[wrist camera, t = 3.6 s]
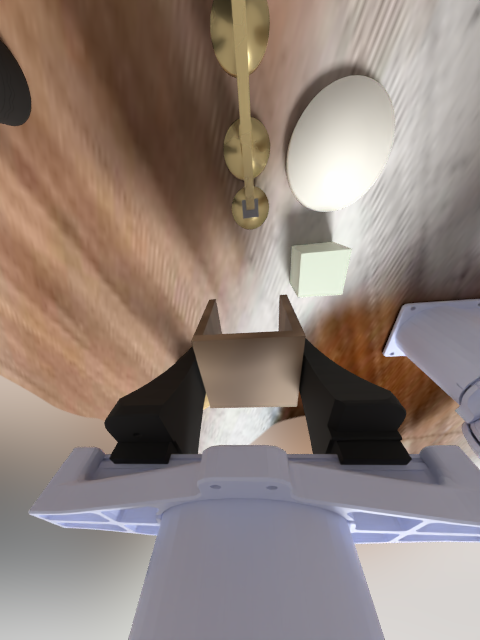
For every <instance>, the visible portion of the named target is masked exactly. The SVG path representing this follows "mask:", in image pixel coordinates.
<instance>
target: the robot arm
mask: <svg viewBox="0 0 480 640" xmlns="http://www.w3.org/2000/svg"><path fill="white" fill-rule="evenodd" d="M383 355H384V356H386V357H388V356H407V357H408V358H409V359H410V360H412V361H413V362H414V363H415V364H416V365H417V366H418V367H419V368H420V369H421V370H422V371H423V372H424V373H426V374H427V375H428V376H429V377H430V378H431V379H432V380H433V381H434V382H435V383H436V384H437V385H439V386H440V387H441V388H442V389H443V390H444V391H445V392H446V393H447V394H448V395H449V396H450V397H452V398H453V399H454V400H455V401H456V402H457V403H458V404H459V405H460V406H459V407H458V408H457V409H456V410H455V411H456V412H457V413H458V414H459V415H460V416H461V417H462V418H463V419H464V420H465V422H464V423H463V424H462V432H463V434H464V437H465V438H466V440H467V442H468V444H469V446H470V447H471V449H472V450H473V451H474V453H475V454H476V455H477V456H478V457H479V459H480V299H468V300H453V301H438V302H423V303H408V304H405V305H403V306H402V308H401V310H400V313H399V315H398V317H397V320H396V322H395V325H394V327H393V329H392V332H391V334H390V336H389V339H388V341H387V344H386V346H385V348H384V351H383ZM299 391H300V395H301V398H302V403H303V407H304V412H305V416H306V420H307V425H308V430H309V435H310V440H311V446H312V451H313V454H286V452H285V451H284V450H283V449H281V448H279V447H276V446H269V445H218V446H211V447H209V448H207V449H206V450H204V451H203V453H202V454H198V447H199V437H200V429H201V421H202V414H203V407H204V401H205V396H206V390H205V387H204V383H203V380H202V377H201V373H200V370H199V366H198V363H197V359H196V356H195V353H194V349H193V346H192V347H191V348H190V349H189V350H188V351H187V352H186V354H185V355H183V356H182V357H181V358H180V359H179V360H178V361H177V362H176V363H175V364H174V365H173V366H172V367H170V368H169V369H168V370H167V371H165V372H164V373H162V374H161V375H160V376H158V377H157V378H155V379H154V380H153V381H151V382H149V383H148V384H146V385H144V386H143V387H141V388H139V389H138V390H136V391H134V392H132V393H130V394H128V395H126V396H124V397H122V398H120V399H119V401H118V402H117V404H116V405H115V407H114V408H113V409H112V411H111V412H110V414H109V415H108V417H107V418H106V420H105V422H104V423H105V428H106V429H107V431H108V432H109V433H110V434H111V435H112V436H113V437H114V438H115V439H116V441H117V442H118V443H117V445H116V447H115V449H114V450H113V452H112V454H105V453H104V452H103V450H101V449H100V448H97V447H75V448H74V449H73V451H72V452H71V454H70V455H69V456H68V458H67V459H66V460H65V462H64V463H63V465H62V466H61V467H60V469H59V470H58V472H57V473H56V474H55V476H54V477H53V478H52V480H51V481H50V482H49V484H48V485H47V486H46V488H45V489H44V491H43V492H42V493H41V495H40V496H39V498H38V499H37V500H36V502H35V503H34V505H33V506H32V507H31V509H30V510H29V511H28V512H29V514H30V515H33V516H35V517H38V518H41V519H43V520H46V521H48V522H51V523H53V524H56V525H58V526H61V527H64V528H83V529H96V530H107V531H117V532H127V533H137V534H146V535H155V536H157V538H156V541H155V545H154V549H153V552H152V556H151V559H150V563H149V566H148V570H147V574H146V577H145V581H144V584H143V588H142V592H141V595H140V599H139V602H138V606H137V610H136V613H135V617H134V620H133V624H132V628H131V631H130V635H129V638H128V640H385V639H384V636H383V632H382V629H381V626H380V623H379V620H378V617H377V613H376V611H375V608H374V604H373V601H372V598H371V595H370V592H369V588H368V585H367V582H366V579H365V576H364V573H363V570H362V567H361V563H360V560H359V558H358V554H357V551H356V548H355V545H354V544H363V543H364V544H365V543H400V542H401V543H402V542H480V470H479V468H478V467H477V466H476V465H475V464H474V463H473V462H472V461H471V460H470V458H469V457H468V456H467V455H466V454H465V453H464V452H463V451H462V449H461V448H460V447H459V446H456V445H433V446H427V447H425V448H423V449H422V450H421V451H420V454H408V452H407V451H406V449H405V448H404V446H403V444H402V443H401V441H400V440H402V437H401V435H400V434H399V432H398V431H397V429H398V428H399V427H400V425H401V424H402V422H403V421H404V419H405V417H406V410H405V409H404V408H403V406H402V405H401V404H400V402H399V401H398V400H397V398H396V397H395V396H394V395H393V394H392V393H391V391H389V390H386V389H384V388H382V387H379V386H377V385H375V384H372V383H370V382H368V381H366V380H364V379H362V378H360V377H358V376H356V375H354V374H352V373H351V372H349V371H347V370H346V369H344V368H342V367H341V366H339V365H338V364H336V363H335V362H333V361H332V360H330V359H329V358H328V357H326V356H325V355H324V354H322V353H321V352H320V351H319V350H318V349H317V348H315V347H314V346H313V345H312V344H311V343H310V342H309V341H308V340H307V339H306V338H305V345H304V353H303V361H302V369H301V376H300V384H299Z"/></svg>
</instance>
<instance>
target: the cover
mask: <svg viewBox="0 0 480 640" xmlns="http://www.w3.org/2000/svg"><path fill="white" fill-rule="evenodd" d="M305 337H306V336H305V333H304V331H303V329H302V327H301V325H300V323H299V321H298V318H297V316H296V314H295V312H294V310H293V308H292V305H291V303H290V301H289V299H288V297H287V295H280V301H279V331H275V332H256V333H236V334H222V332H221V326H220V320H219V315H218V309H217V303H216V299H213V300H209V302H208V304H207V306H206V309H205V311H204V313H203V316H202V318H201V320H200V322H199V325H198V327H197V329H196V332H195V334H194V336H193V338H192V341H191V342H192V346H193V349H194V353H195V356H196V359H197V363H198V366H199V370H200V373H201V377H202V380H203V383H204V387H205V390H206V394H207V397H208V401H209V404H210V408H240V407H297V400H298V392H299V384H300V376H301V369H302V361H303V353H304V345H305Z"/></svg>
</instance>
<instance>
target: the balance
mask: <svg viewBox="0 0 480 640" xmlns="http://www.w3.org/2000/svg"><path fill="white" fill-rule="evenodd" d="M269 25H270V20H269V9H268V4H267V0H214V1H213V5H212V10H211V18H210V32H211V40H212V44H213V49H214V52H215V55H216V58H217V60H218V62H219V64H220V66H221V67H222V68H223V70H224V71H225V72H226V73H228V74H229V75H230V76H232V77H235V78H237V85H238V99H239V113H240V118H239V119H237V120H236V121H235V122H234V123H233V124H232V125H231V126H230V128H229V129H228V131H227V133H226V136H225V140H224V148H223V150H224V158H225V162H226V164H227V166H228V168H229V170H230V172H231V173H232V174H233V175H234V176H235V177H236V178H238V179H240V180H244V183H245V187H244V188H242V189H241V190H239V191H238V192H237V194H236V195H235V197H234V199H233V202H232V214H233V217H234V219H235V221H236V223H237V224H238V225H239V226H241V227H242V228H244V229H255V228H257V227H259V226H260V225H262V224H263V222H264V221H265V220H266V218H267V215H268V211H269V203H268V199H267V197H266V195H265V193H264V192H263V191H262V190H261V189H260V188H258V187H255V186H254V185H253V179H254V178H256V177H257V176H259V175H260V174H261V172H262V171H263V170H264V168H265V166H266V164H267V161H268V158H269V152H270V142H269V137H268V133H267V131H266V129H265V127H264V126H263V124H262V123H261V122H260V121H258V120H257V119H255V118H253V117H251V116H250V93H249V75H250V74H252V73H253V72H254V71H255V70H256V69H257V67H258V66H259V65H260V63H261V61H262V59H263V57H264V54H265V51H266V48H267V43H268V37H269Z"/></svg>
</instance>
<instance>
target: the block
mask: <svg viewBox="0 0 480 640" xmlns="http://www.w3.org/2000/svg"><path fill="white" fill-rule="evenodd" d="M351 251H352V249H351V248H348V247H345V246H343V245H340V244H337V243H335V242H325V243H315V244H304V245H294V246H292V251H291V272H290V284H291V286H292V288H293V290H294V291H295V293H296V295H297V297H298V298H301V297H315V296H329V295H342V293H343V288H344V283H345V279H346V274H347V269H348V265H349V260H350V255H351Z"/></svg>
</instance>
